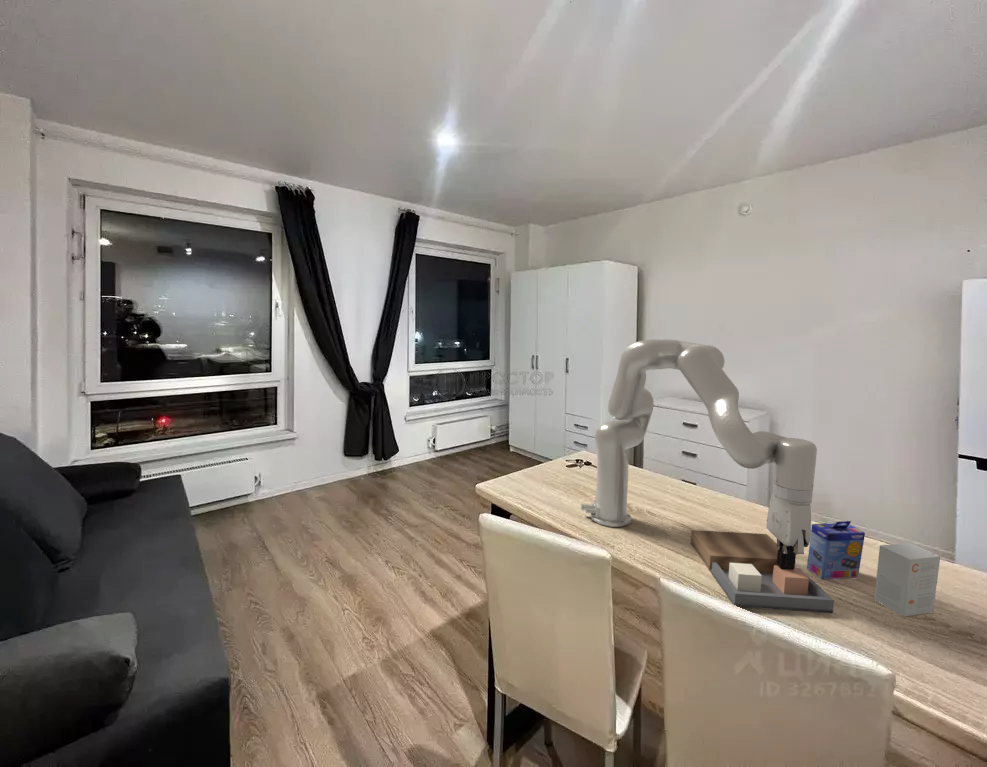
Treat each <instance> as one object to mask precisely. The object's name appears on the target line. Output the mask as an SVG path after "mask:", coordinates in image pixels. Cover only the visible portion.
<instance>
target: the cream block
mask: <svg viewBox="0 0 987 767" xmlns="http://www.w3.org/2000/svg"><path fill="white" fill-rule="evenodd" d="M728 578H729V580H730V581H731V582H732V584H733V585H734V586H735V588H736V589H737V590H739V591H753V592H760V591H761V580H762V575H761V574H760V573H759V572H758V571H757V570H756V568H755V567H754V566H753V565H752V564H743V563H730V564H729V577H728Z"/></svg>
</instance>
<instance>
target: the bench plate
mask: <svg viewBox="0 0 987 767" xmlns="http://www.w3.org/2000/svg"><path fill="white" fill-rule="evenodd" d="M690 545H691V547H693V549H694V550H695V552H696V553H698V554H697V555H698V556H699V558H700V560H701V561H702V562H703V563H705V564H704V565H705V566H706V568H707V569H708V571H710V569H712V562H715V563H717V564H718V565H719V566H720V568H721V569H722V570H729V564H730V563H743V564H752V565H753V566H754V567H755V568H756V570H757V571H758V572H763V573H773V569H774V565H777V553H778V548H777V541H775V540H774V539H773V538H772V537H771V536H769V535H768V534H767V533H754V532H736V531H735V532H734V531H717V530H716V531H715V530H714V531H713V530H700V529H699V530H696V529H695V530H694V529H692V530H691V531H690ZM796 560H797V559H795V562H796ZM777 566H778V565H777Z"/></svg>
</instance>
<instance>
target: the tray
mask: <svg viewBox="0 0 987 767" xmlns="http://www.w3.org/2000/svg"><path fill="white" fill-rule="evenodd" d="M796 567H797V568H798V569H799V570H800V571H801V572H803V573H804V574H805V575H806V576H807V577H808V578H809V584H808V594H807V595H798V594H784V593H783V592H782V591H781V590H780V589H779V588H778V587H777V586H776V584H775V583H774V582H773V581H772V580H773V573H763V572H759V573H760V574H761V575H762V580H761V591H760V592H753V591H739V590H737V589H736V588H735V586H734V585H733V584H732V582H731V581H730V580H729V578H728V577H729V570H722V569H721V568H720V566H719V565H718V564H717V563H715V562H712V569H710V570H709V572H710V574H711V575H712V577H713V578H714V580H715V581H716V582H717V584H718V585H719V587H720V588H721V589H722V591H723V592H724V593H725V595H726V597H727V598H728V600H730V603H731V604H732V605H733V604H734V605H736V606H739V608H748V609H749V608H751V609H763V610H764V609H766V610H779V611H793V612H794V611H795V612H796V611H798V612H809V613H823V614H833V613H834V606H835V599H834V598H833V597H831V596H830V595H829V594H828V593H827V592H826V591H825V590H824V589H823V588H822V587H821V586H819V585H818V584H817V583H816V581H814V580H813V579H812V578H811V577H810V576H809V575H807V573H805V572H804V571H803V570H802V569H801V567H798V566H796ZM734 605H733V606H734Z"/></svg>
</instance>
